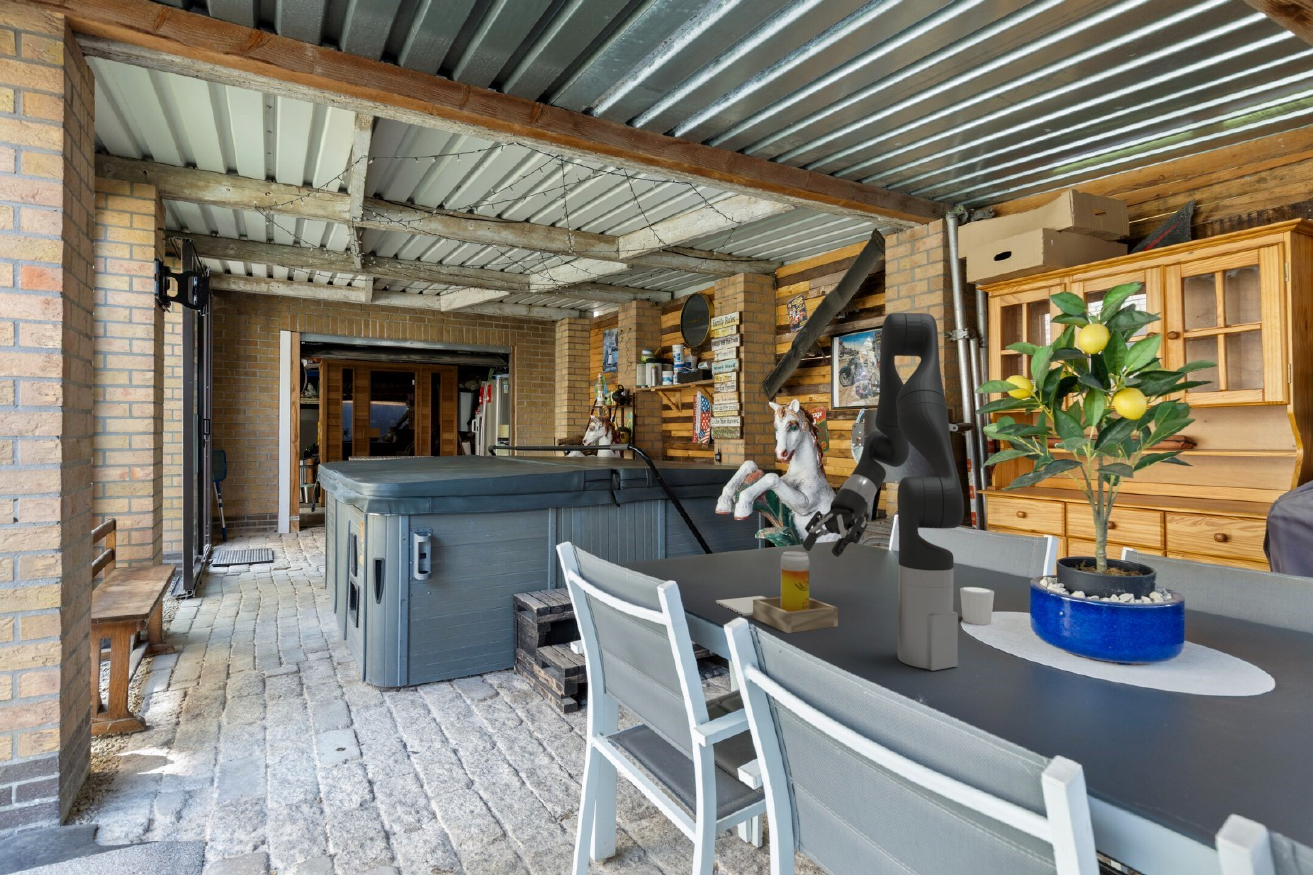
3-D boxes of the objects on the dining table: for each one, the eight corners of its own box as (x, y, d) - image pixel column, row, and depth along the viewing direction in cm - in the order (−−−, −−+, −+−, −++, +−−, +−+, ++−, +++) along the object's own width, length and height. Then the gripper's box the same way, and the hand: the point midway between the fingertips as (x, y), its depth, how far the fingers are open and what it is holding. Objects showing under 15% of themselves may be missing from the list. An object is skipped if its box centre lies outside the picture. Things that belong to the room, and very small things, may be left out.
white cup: (986, 617, 153) (987, 586, 153) (999, 625, 146) (999, 593, 146) (955, 616, 153) (955, 585, 153) (966, 624, 146) (966, 592, 146)
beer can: (809, 626, 144) (809, 556, 144) (780, 624, 145) (780, 554, 145) (808, 619, 150) (808, 551, 150) (780, 617, 151) (781, 550, 151)
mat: (792, 610, 157) (792, 607, 157) (744, 615, 152) (744, 613, 152) (761, 598, 169) (761, 595, 169) (715, 602, 164) (715, 600, 164)
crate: (837, 626, 144) (837, 607, 144) (787, 633, 139) (787, 613, 139) (800, 611, 156) (800, 594, 156) (752, 617, 151) (753, 599, 151)
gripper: (823, 485, 163) (788, 536, 156) (871, 489, 151) (836, 544, 145) (837, 506, 166) (804, 557, 159) (886, 511, 154) (852, 567, 148)
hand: (819, 551), depth 152 cm, fingers open, 8 cm apart
